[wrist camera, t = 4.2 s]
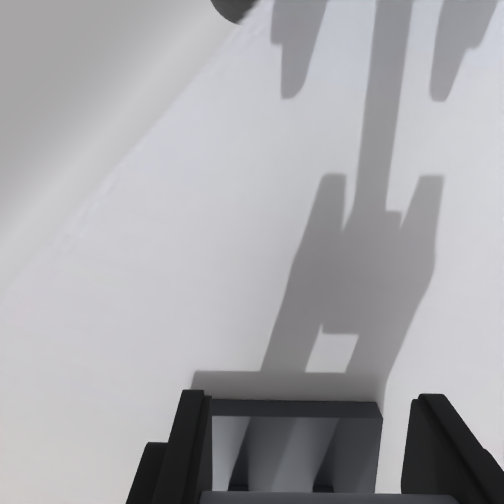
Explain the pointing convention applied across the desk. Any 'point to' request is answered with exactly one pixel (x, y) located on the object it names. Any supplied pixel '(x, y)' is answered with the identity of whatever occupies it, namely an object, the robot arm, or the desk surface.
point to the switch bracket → (295, 446)
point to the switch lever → (319, 498)
